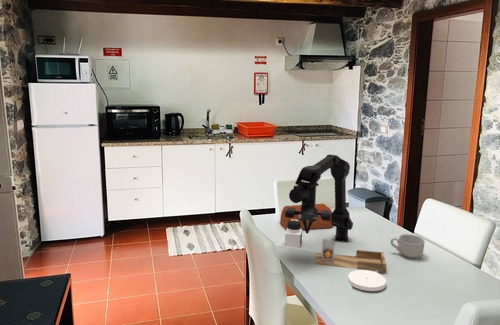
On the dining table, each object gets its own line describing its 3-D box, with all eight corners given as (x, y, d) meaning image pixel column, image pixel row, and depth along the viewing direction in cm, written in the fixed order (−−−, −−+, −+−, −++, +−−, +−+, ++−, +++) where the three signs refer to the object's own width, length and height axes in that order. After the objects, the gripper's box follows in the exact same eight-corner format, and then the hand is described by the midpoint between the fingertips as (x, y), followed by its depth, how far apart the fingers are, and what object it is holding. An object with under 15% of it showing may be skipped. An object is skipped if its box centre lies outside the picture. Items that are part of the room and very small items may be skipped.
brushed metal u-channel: (321, 256, 179) (322, 239, 177) (333, 257, 178) (334, 240, 176) (321, 261, 174) (322, 243, 172) (333, 262, 173) (334, 244, 171)
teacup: (423, 253, 186) (425, 236, 184) (422, 262, 176) (424, 245, 174) (391, 247, 191) (392, 231, 190) (388, 256, 182) (389, 239, 180)
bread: (336, 228, 215) (337, 209, 213) (286, 232, 209) (287, 212, 207) (324, 218, 230) (325, 200, 228) (278, 222, 224) (278, 203, 222)
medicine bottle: (300, 249, 189) (301, 224, 186) (284, 247, 190) (285, 222, 188) (301, 243, 195) (302, 219, 193) (286, 241, 197) (287, 217, 194)
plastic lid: (367, 272, 167) (367, 267, 167) (393, 288, 155) (394, 282, 154) (339, 280, 161) (340, 274, 160) (365, 297, 149) (365, 290, 148)
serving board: (316, 254, 183) (316, 246, 182) (382, 261, 177) (383, 252, 176) (314, 266, 171) (315, 257, 171) (385, 273, 166) (386, 264, 165)
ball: (324, 256, 178) (324, 250, 177) (331, 257, 177) (331, 250, 176) (323, 259, 175) (324, 252, 174) (331, 260, 174) (331, 253, 173)
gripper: (283, 201, 166) (282, 238, 170) (331, 205, 163) (329, 242, 166) (287, 194, 177) (286, 228, 180) (331, 197, 173) (329, 232, 177)
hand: (307, 233), depth 175 cm, fingers closed
